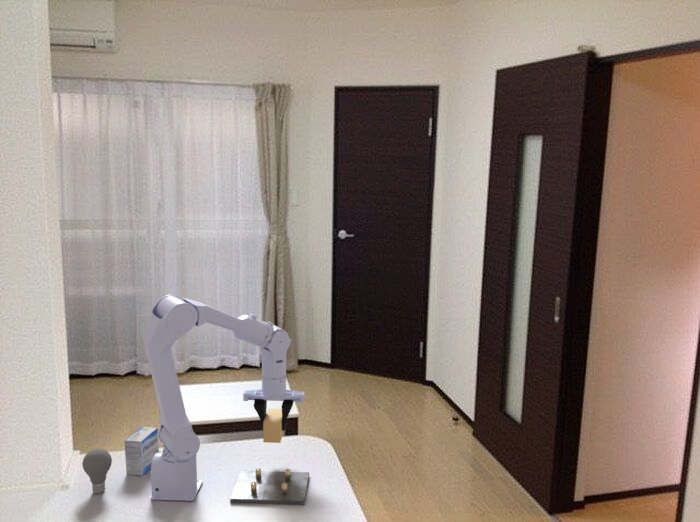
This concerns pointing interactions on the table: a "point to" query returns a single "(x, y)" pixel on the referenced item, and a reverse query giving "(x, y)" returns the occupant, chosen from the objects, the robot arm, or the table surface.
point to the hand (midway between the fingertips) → (274, 428)
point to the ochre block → (273, 426)
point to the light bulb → (97, 467)
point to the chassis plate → (270, 487)
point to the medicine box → (141, 450)
